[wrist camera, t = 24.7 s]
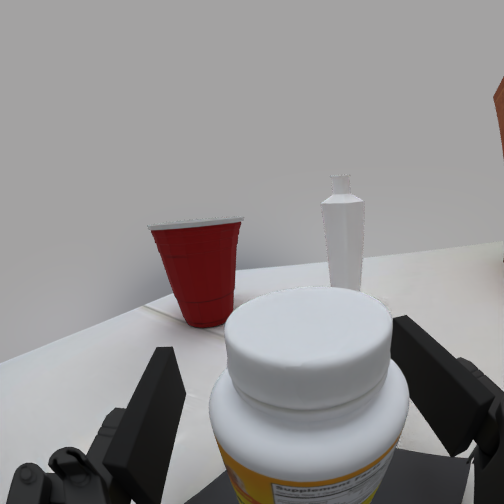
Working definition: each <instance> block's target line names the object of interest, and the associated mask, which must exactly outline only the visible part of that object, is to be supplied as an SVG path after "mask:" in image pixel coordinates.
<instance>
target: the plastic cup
mask: <svg viewBox="0 0 504 504" xmlns="http://www.w3.org/2000/svg"><path fill="white" fill-rule="evenodd" d="M243 220H244V217H221V218H208V219H196V220H187V221H176V222H168V223H160V224H153V225H148V229H149V230H151V233H152V235H153V237H154V240H155V243H156V244H157V248H158V251H159V253H160V255H161V258H162V261H163V264H164V267H165V270H166V273H167V276H168V279H169V282H170V284H171V287H172V290H173V293H174V296H175V297H176V299H177V301H178V304H179V307H180V309H181V312H182V314H183V317H184V318H185V320H186V322H187V323H188V324H189V325H191V326H193V327H200V328H206V327H214V326H217V325H220V324H223V323H225V322H226V320H227V319H228V317H229V316H230V314H231V313H232V312H233V299H234V289H235V268H236V247H237V243H238V235H239V228H240V225H241V221H243Z"/></svg>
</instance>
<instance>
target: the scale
mask: <svg viewBox="0 0 504 504" xmlns="http://www.w3.org/2000/svg"><path fill="white" fill-rule="evenodd" d="M467 459H468V458H458V457H453V458H451V457H448V456H440V455H432V454H425V453H419V452H413V451H408V450H403V449H397V448H395V451H394V453H393V456H392V458H391V461H390V463H389V465H388V467H387V470H386V472H385V474H384V477H383V478H382V481H381V483H380V485H379V487H378V489H377V491H376V493H375V494H374V497H373V498H372V500H371V502H370V504H461V503H462V499H463V495H464V492H465V488H466V483H467V479H468V474H469V470H470V464H471V461H470V463H469V464H466V462H467ZM184 504H240V503H239V500H238V498H237V496H236V493H235V491H234V489H233V487H232V483H231V480H230V478H229V475H228V473H227V470H226V471H225V472H223V473H222V474H221V475H220V476H219V477H217V478H216V479H215V480H214V481H213V482H211V483H210V484H209V485H208V486H206V487H205V488H204V489H203V490H201V491H200V492H199V493H198V494H196V495H195V496H194V497H192V498H191V499H190V500H188V501H187V502H186V503H184Z"/></svg>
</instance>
